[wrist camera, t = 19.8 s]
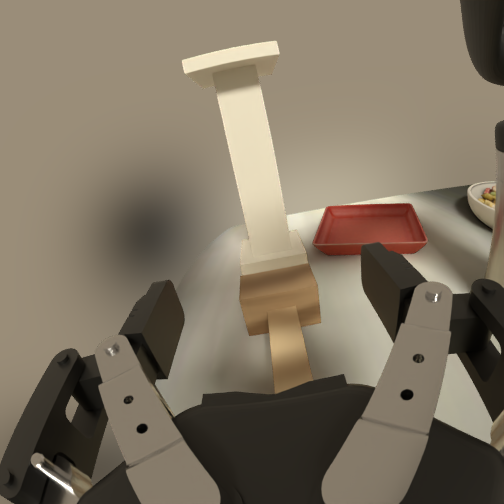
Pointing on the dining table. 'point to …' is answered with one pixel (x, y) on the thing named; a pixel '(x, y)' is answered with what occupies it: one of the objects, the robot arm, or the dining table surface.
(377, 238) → the plant saucer
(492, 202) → the bowl
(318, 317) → the beech mallet
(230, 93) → the tall stand
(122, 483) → the robot arm
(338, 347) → the dining table surface
